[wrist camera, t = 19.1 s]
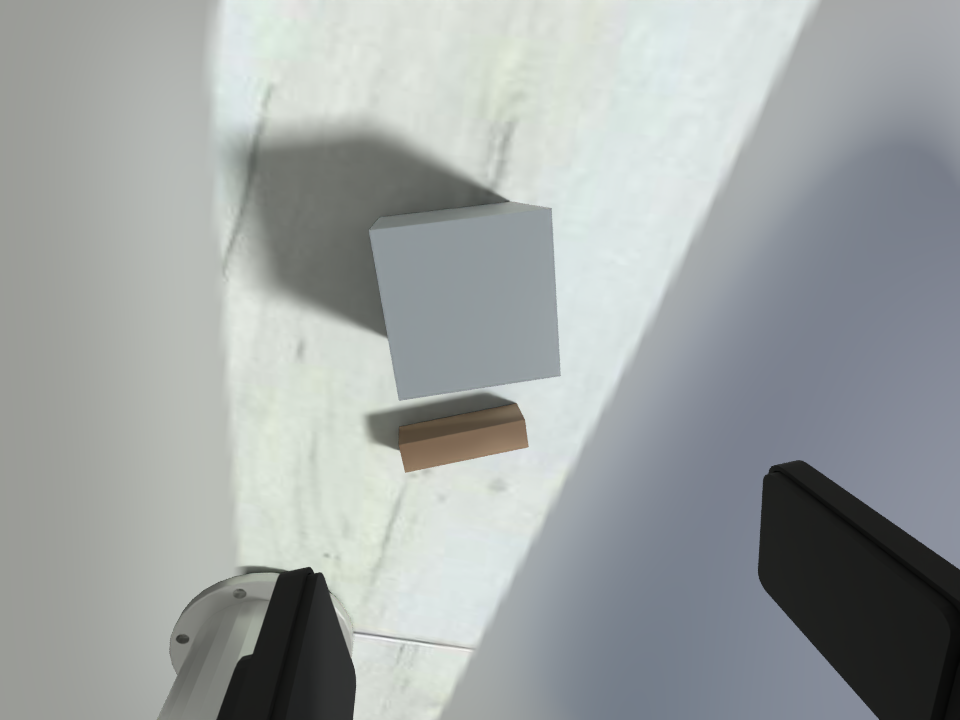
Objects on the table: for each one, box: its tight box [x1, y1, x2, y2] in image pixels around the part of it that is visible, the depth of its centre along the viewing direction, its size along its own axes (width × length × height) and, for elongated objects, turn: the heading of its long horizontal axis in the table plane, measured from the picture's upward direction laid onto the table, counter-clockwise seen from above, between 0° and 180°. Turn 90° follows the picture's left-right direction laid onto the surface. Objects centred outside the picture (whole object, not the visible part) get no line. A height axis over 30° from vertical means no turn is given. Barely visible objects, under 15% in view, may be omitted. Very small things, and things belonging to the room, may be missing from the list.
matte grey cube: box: [369, 202, 561, 401], centre depth 26 cm, size 8×8×9 cm
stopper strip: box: [399, 403, 528, 473], centre depth 33 cm, size 2×8×2 cm, turn 99°
